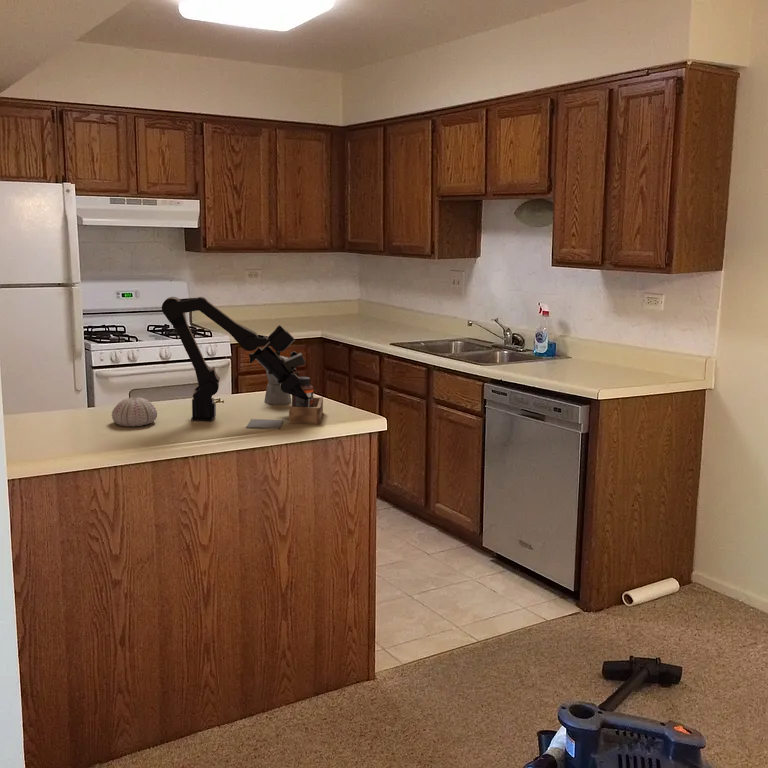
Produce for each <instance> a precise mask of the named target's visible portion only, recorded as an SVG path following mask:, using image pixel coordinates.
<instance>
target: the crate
mask: <svg viewBox="0 0 768 768" xmlns="http://www.w3.org/2000/svg"><path fill="white" fill-rule="evenodd" d="M322 413H323V414H324V397H321V396H319V397H318V396H313V407H292V406H289V407H288V424H304V423H315V424H316V425H317V424H318V425H320V424H321V422H322V418H321V417H323V414H322ZM315 424H314V425H315Z"/></svg>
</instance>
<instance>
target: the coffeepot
mask: <svg viewBox="0 0 768 768" xmlns="http://www.w3.org/2000/svg"><path fill="white" fill-rule="evenodd" d="M275 353H276V354H277V355H278V356H279V357H281V358H283V359H284V360H286V359H288V358H289V357H287V356H283V355H281V351H280V352H277V351H275ZM265 373H266V379H267V384H266V385H267V386H266V389H265V397H264V403H265V404H267V403H268V405H273V404H283V405H289V404H290V403H292V395H291V394H288V393H284V392H283V391H282V390H281V389H280V384H279V383H278V382H277V380H276V379H275V378H274V377H273V376H272V375H270V374H269V373H268V371H267V370H266V369H265ZM288 403H289V404H288Z"/></svg>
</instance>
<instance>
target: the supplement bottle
mask: <svg viewBox="0 0 768 768" xmlns="http://www.w3.org/2000/svg"><path fill="white" fill-rule="evenodd" d="M298 377H299V378H300V386H301V387H302V389H303V390H304V392H305V393H306V395H307V396H308V397H309V399H308V400H304V399H301V398H299V397H296V396H294V395H291V407H313V397H314V386H313V385H312V384H311V378H310V377H308V376H298Z"/></svg>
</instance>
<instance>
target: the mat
mask: <svg viewBox="0 0 768 768" xmlns="http://www.w3.org/2000/svg"><path fill="white" fill-rule="evenodd" d="M283 423H284V419H261V418H260V419H256V418H251V419H250V421H249V422H248V424H247V425H246V427H245V428H246V429H266V428H280V427H282V425H283ZM280 429H281V428H280Z"/></svg>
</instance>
